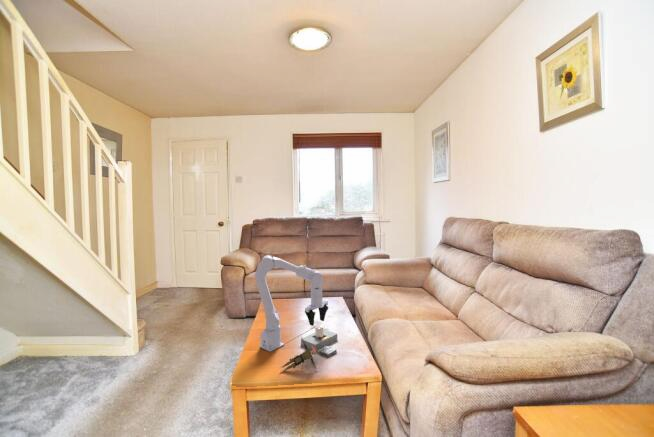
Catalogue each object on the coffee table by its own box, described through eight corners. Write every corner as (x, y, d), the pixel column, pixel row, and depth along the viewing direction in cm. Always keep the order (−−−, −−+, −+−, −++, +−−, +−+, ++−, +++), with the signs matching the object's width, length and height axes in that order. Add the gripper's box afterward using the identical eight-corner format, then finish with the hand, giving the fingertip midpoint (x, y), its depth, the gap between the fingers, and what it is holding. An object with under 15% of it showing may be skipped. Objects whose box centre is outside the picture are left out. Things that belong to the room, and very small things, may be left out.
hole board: (315, 351, 141) (315, 344, 141) (300, 345, 148) (300, 338, 148) (337, 339, 153) (337, 333, 153) (322, 334, 160) (322, 328, 160)
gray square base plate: (328, 357, 135) (328, 354, 135) (318, 353, 139) (318, 350, 139) (336, 352, 139) (336, 349, 139) (326, 348, 143) (326, 345, 143)
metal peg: (313, 342, 150) (313, 328, 150) (319, 340, 153) (319, 326, 153) (319, 344, 147) (319, 330, 147) (325, 342, 150) (324, 328, 150)
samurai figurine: (292, 386, 127) (334, 362, 130) (288, 388, 118) (333, 361, 121) (277, 349, 133) (317, 327, 136) (272, 348, 124) (315, 324, 127)
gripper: (312, 300, 142) (312, 329, 142) (332, 293, 153) (332, 320, 153) (301, 297, 146) (302, 325, 147) (321, 291, 157) (322, 317, 158)
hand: (316, 322), depth 150 cm, fingers open, 7 cm apart
